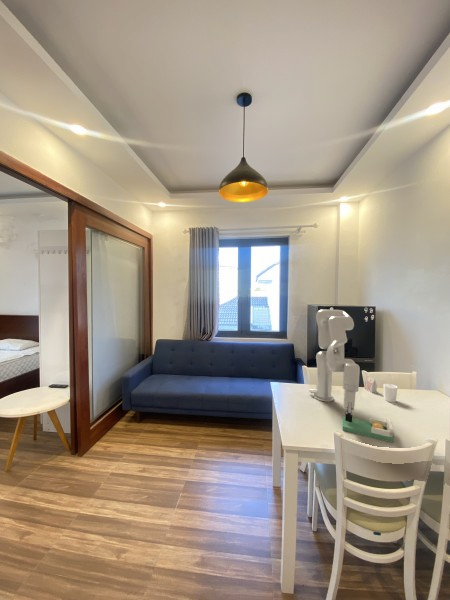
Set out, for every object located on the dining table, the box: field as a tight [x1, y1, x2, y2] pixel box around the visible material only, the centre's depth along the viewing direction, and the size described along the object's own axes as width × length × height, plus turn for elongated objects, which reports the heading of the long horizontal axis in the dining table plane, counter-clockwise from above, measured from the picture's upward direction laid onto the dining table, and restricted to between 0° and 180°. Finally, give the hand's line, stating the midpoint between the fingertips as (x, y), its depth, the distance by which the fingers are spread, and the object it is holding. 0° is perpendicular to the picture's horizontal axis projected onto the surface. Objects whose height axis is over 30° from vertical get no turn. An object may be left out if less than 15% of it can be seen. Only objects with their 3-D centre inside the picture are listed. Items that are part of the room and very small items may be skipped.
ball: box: [372, 423, 383, 429], centre depth 126 cm, size 5×5×5 cm
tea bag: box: [364, 375, 378, 394], centre depth 180 cm, size 4×7×10 cm, turn 7°
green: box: [342, 415, 395, 443], centre depth 128 cm, size 22×12×6 cm, turn 64°
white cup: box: [382, 383, 398, 404], centre depth 165 cm, size 8×8×10 cm
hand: (348, 419), depth 132 cm, fingers open, 3 cm apart
